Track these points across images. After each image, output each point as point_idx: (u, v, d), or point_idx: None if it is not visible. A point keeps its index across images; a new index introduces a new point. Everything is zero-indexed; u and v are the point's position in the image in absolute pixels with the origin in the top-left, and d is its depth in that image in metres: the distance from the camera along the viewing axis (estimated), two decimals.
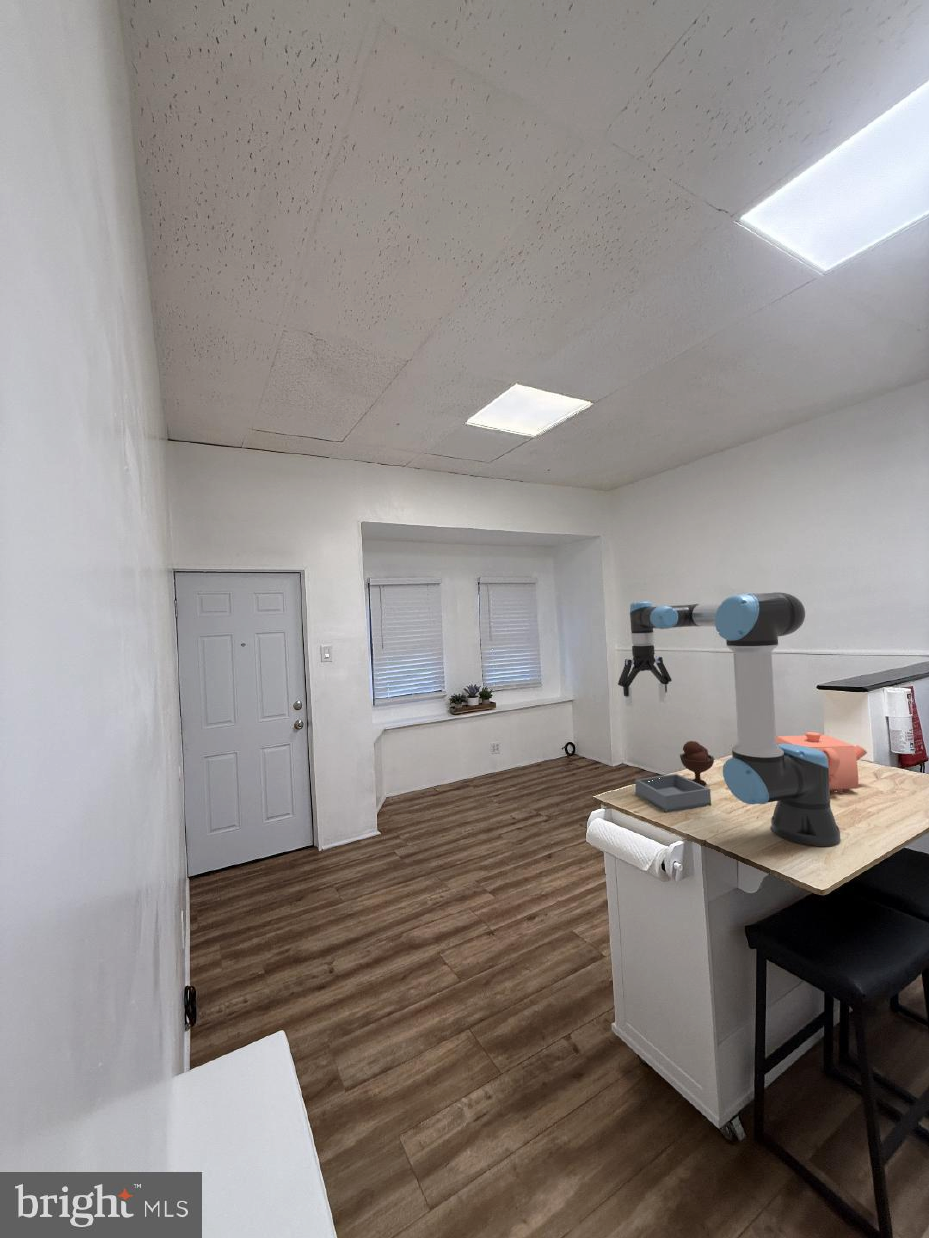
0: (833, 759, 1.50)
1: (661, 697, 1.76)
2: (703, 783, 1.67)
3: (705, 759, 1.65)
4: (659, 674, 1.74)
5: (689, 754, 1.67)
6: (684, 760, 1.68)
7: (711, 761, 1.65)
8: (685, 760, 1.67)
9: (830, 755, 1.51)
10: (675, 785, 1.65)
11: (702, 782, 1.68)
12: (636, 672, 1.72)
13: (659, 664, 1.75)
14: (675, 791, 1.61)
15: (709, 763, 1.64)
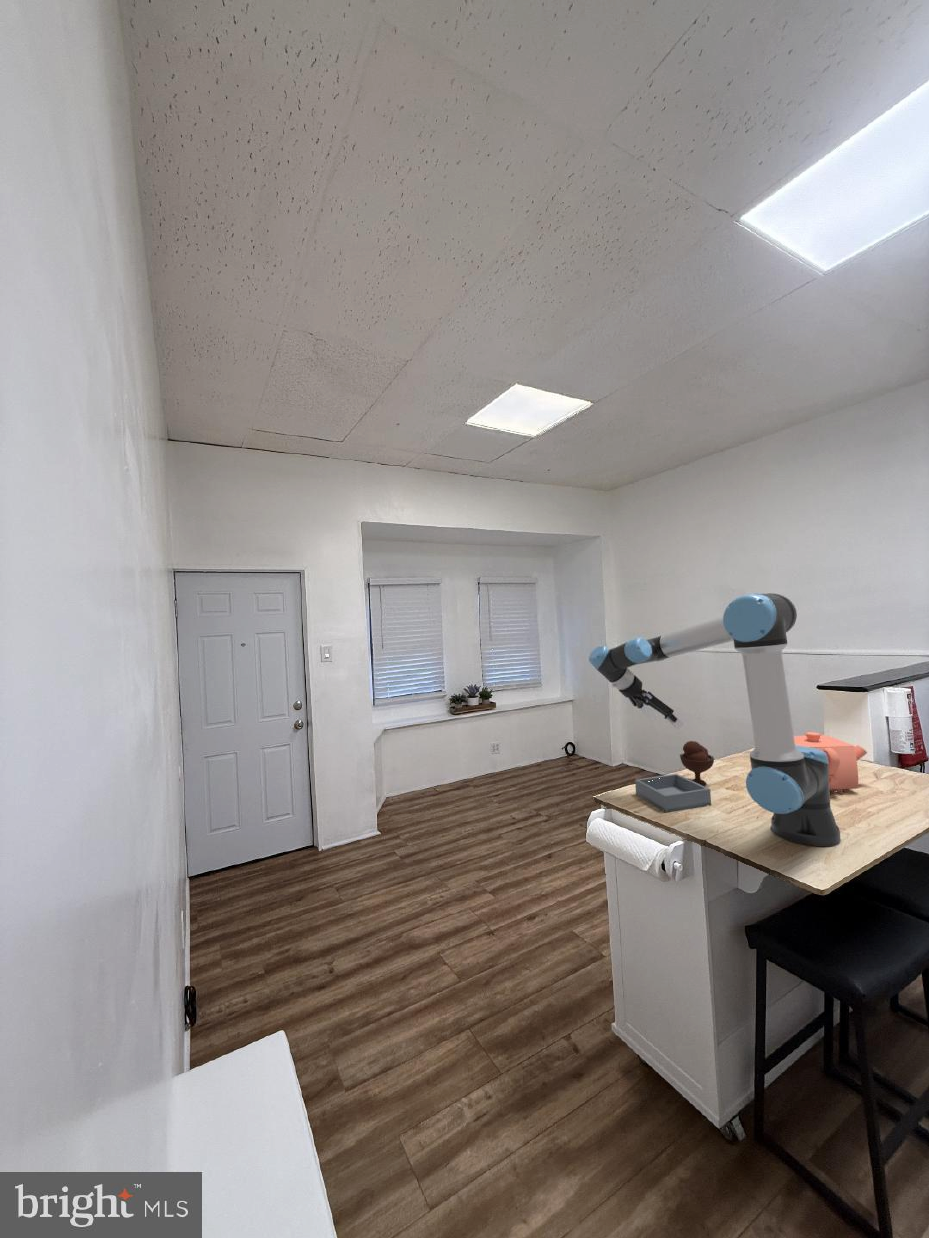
0: (833, 759, 1.50)
1: (652, 715, 1.73)
2: (703, 783, 1.67)
3: (705, 759, 1.65)
4: None
5: (689, 754, 1.67)
6: (684, 760, 1.68)
7: (711, 761, 1.65)
8: (685, 760, 1.67)
9: (830, 755, 1.51)
10: (675, 785, 1.65)
11: (702, 782, 1.68)
12: None
13: None
14: (675, 791, 1.61)
15: (709, 763, 1.64)
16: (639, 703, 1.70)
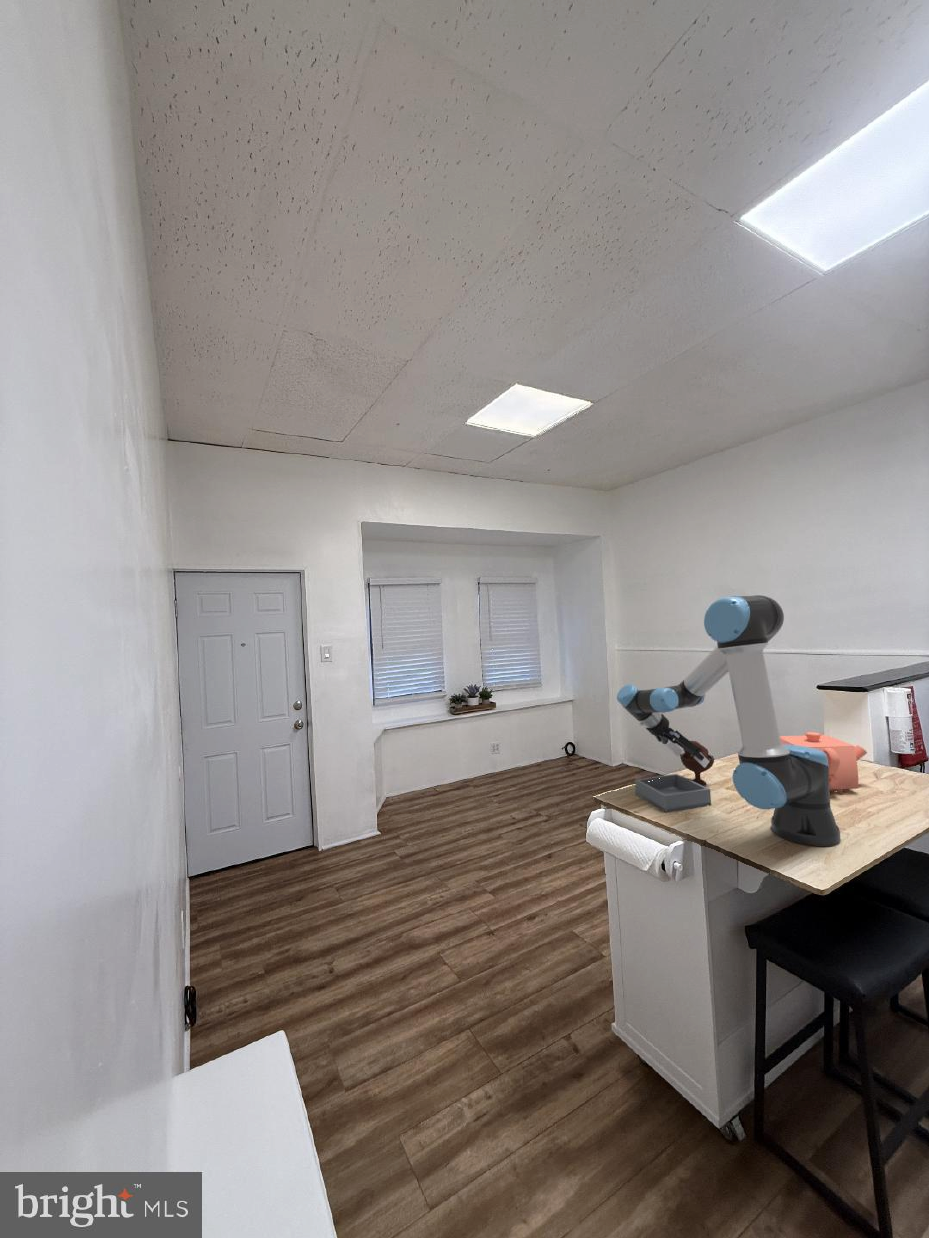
0: (833, 759, 1.50)
1: (677, 751, 1.76)
2: (703, 783, 1.67)
3: None
4: None
5: (689, 754, 1.67)
6: (684, 760, 1.68)
7: (711, 761, 1.65)
8: (685, 760, 1.67)
9: (830, 755, 1.51)
10: (675, 785, 1.65)
11: (702, 782, 1.68)
12: None
13: None
14: (675, 791, 1.61)
15: (709, 763, 1.65)
16: (664, 739, 1.73)
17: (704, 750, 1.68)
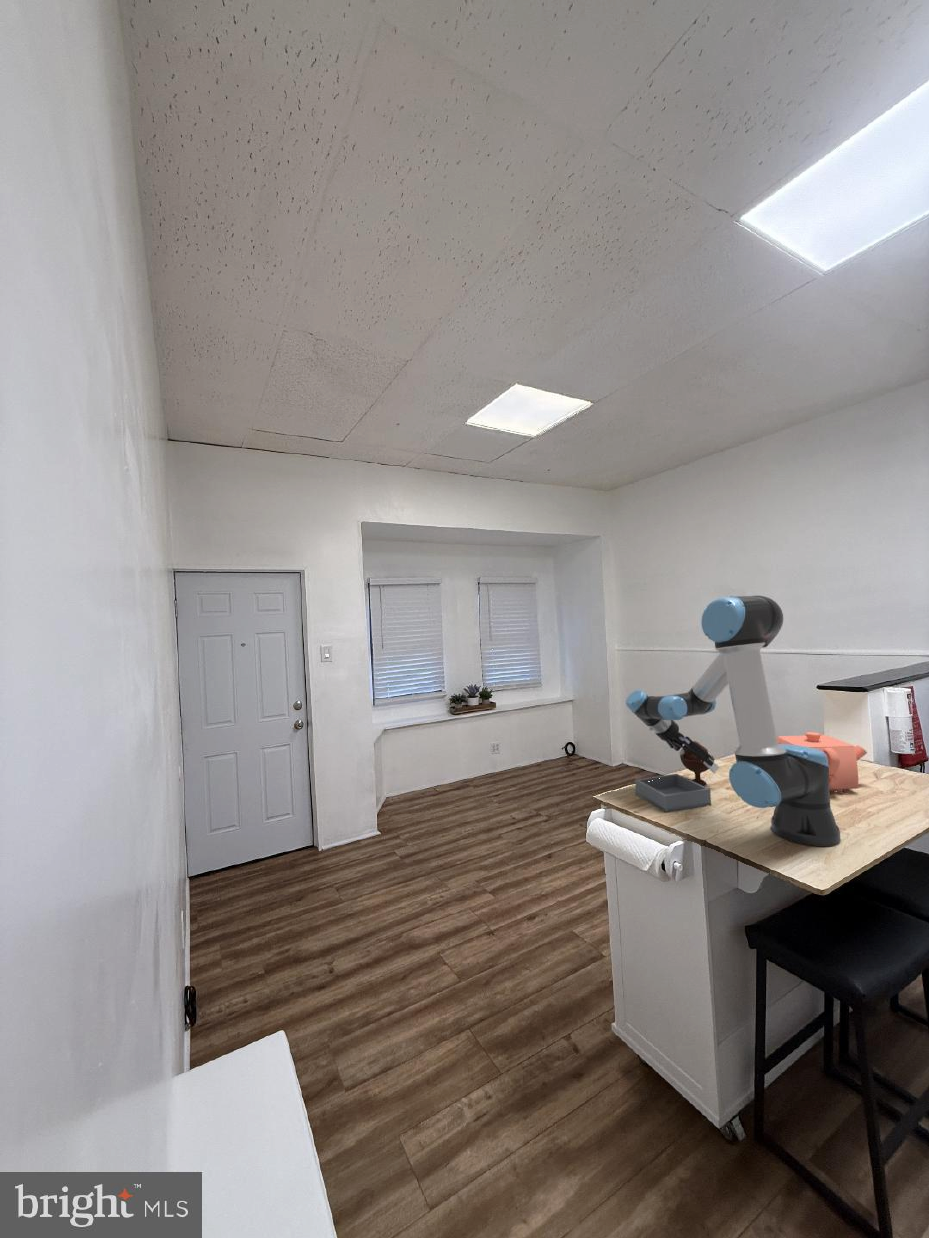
0: (833, 759, 1.50)
1: None
2: (703, 783, 1.67)
3: None
4: None
5: (689, 754, 1.67)
6: (684, 760, 1.68)
7: None
8: (685, 760, 1.67)
9: (830, 755, 1.51)
10: (675, 785, 1.65)
11: (702, 782, 1.68)
12: None
13: None
14: (675, 791, 1.61)
15: None
16: (676, 745, 1.72)
17: (704, 750, 1.68)
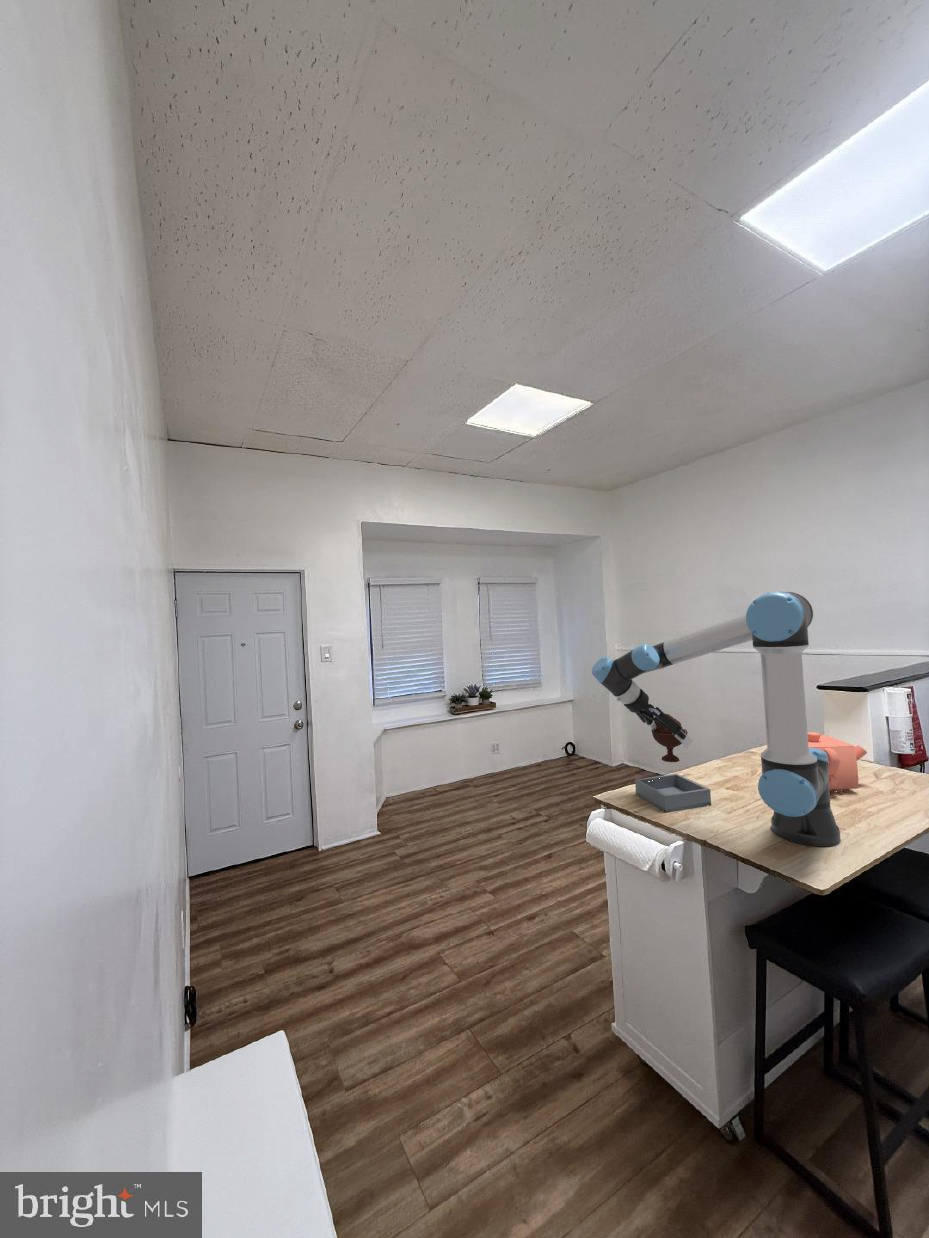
0: (833, 759, 1.50)
1: None
2: (676, 759, 1.55)
3: None
4: None
5: (661, 727, 1.55)
6: (655, 734, 1.55)
7: None
8: (656, 734, 1.55)
9: (830, 755, 1.51)
10: (675, 785, 1.65)
11: (675, 758, 1.55)
12: None
13: None
14: (675, 791, 1.61)
15: None
16: (647, 719, 1.60)
17: (677, 723, 1.55)
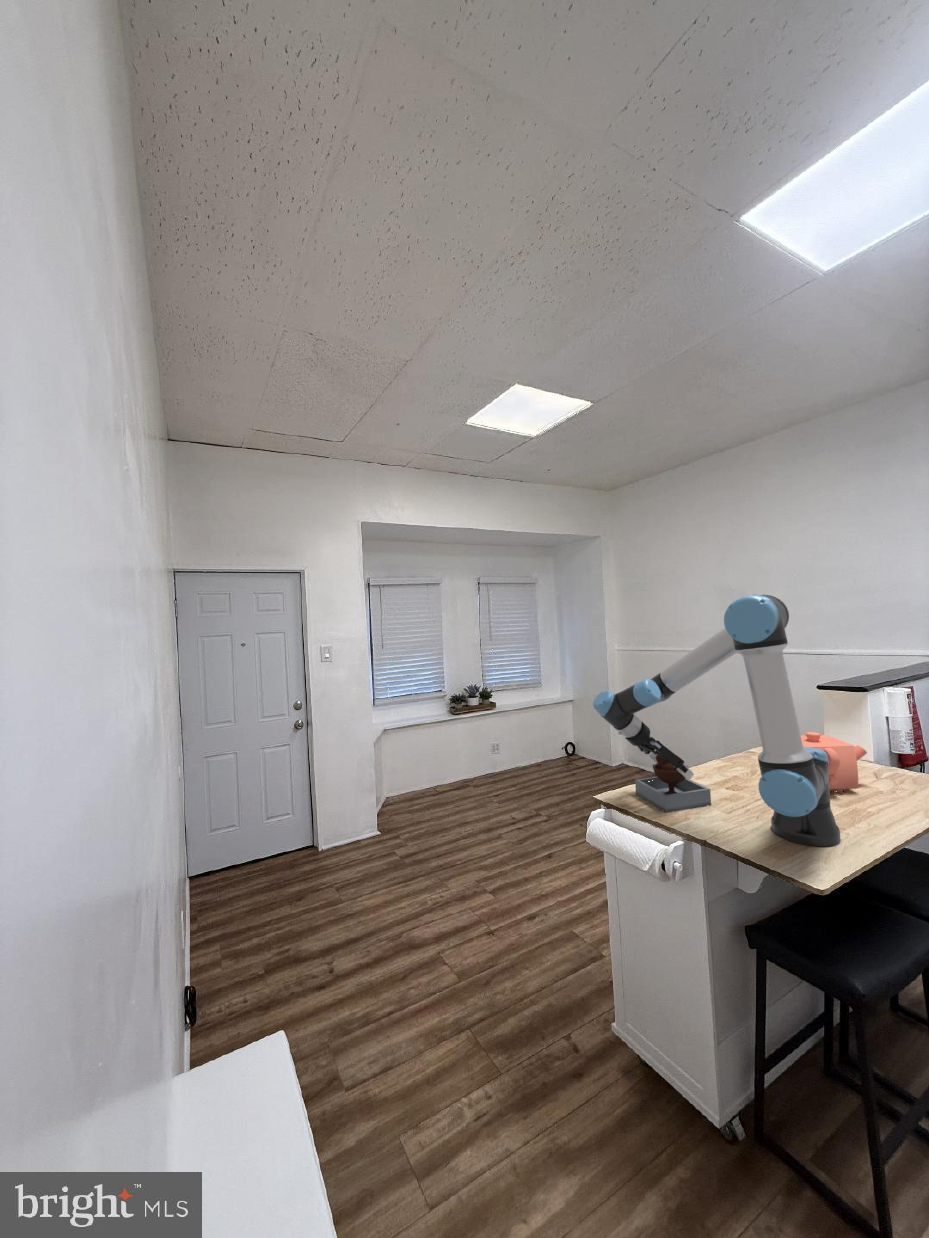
0: (833, 759, 1.50)
1: None
2: None
3: None
4: None
5: (662, 764, 1.55)
6: (657, 770, 1.55)
7: None
8: (658, 770, 1.55)
9: (830, 755, 1.51)
10: (675, 785, 1.65)
11: None
12: None
13: None
14: (675, 791, 1.61)
15: None
16: (646, 749, 1.60)
17: None
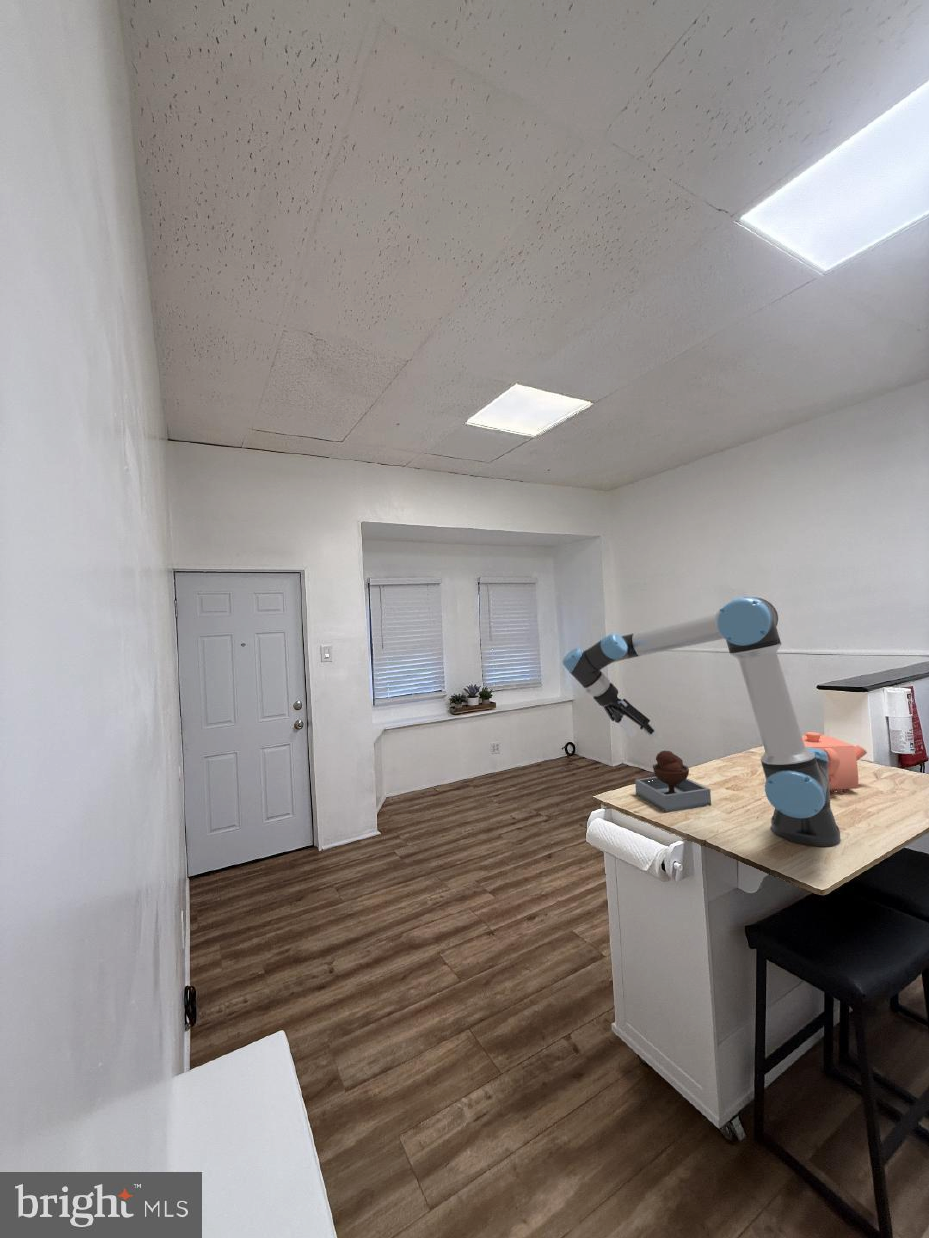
0: (833, 759, 1.50)
1: (631, 731, 1.62)
2: None
3: (679, 770, 1.52)
4: None
5: (662, 765, 1.54)
6: (657, 771, 1.55)
7: (686, 772, 1.52)
8: (658, 771, 1.54)
9: (830, 755, 1.51)
10: (675, 785, 1.65)
11: None
12: None
13: None
14: (675, 791, 1.61)
15: (683, 775, 1.52)
16: (616, 716, 1.60)
17: (678, 761, 1.55)
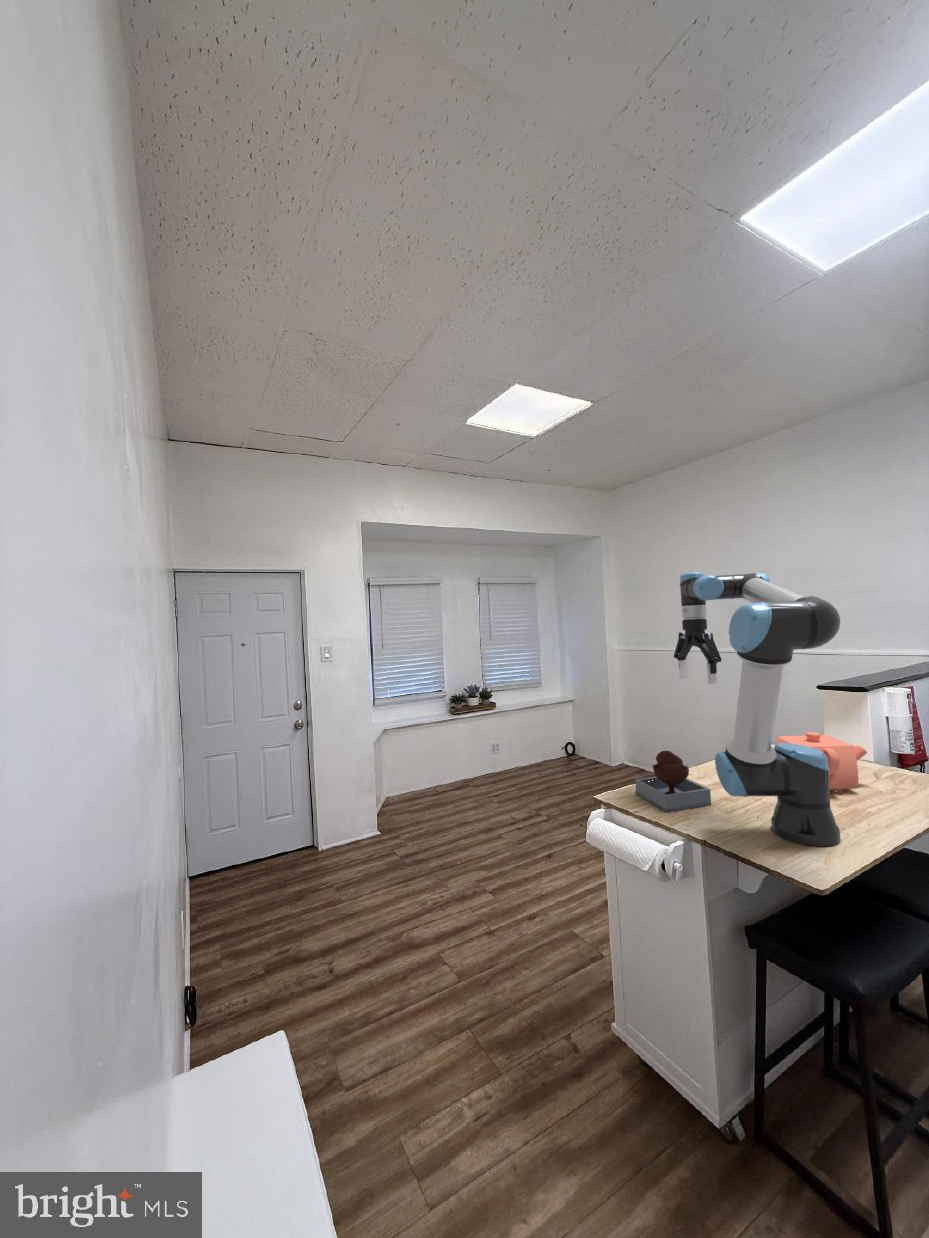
0: (833, 759, 1.50)
1: (684, 674, 1.70)
2: None
3: (679, 770, 1.52)
4: None
5: (662, 765, 1.54)
6: (657, 771, 1.55)
7: (686, 772, 1.52)
8: (658, 771, 1.54)
9: (830, 755, 1.51)
10: (675, 785, 1.65)
11: None
12: None
13: (684, 640, 1.70)
14: (675, 791, 1.61)
15: (683, 775, 1.52)
16: (684, 652, 1.68)
17: (678, 761, 1.55)
